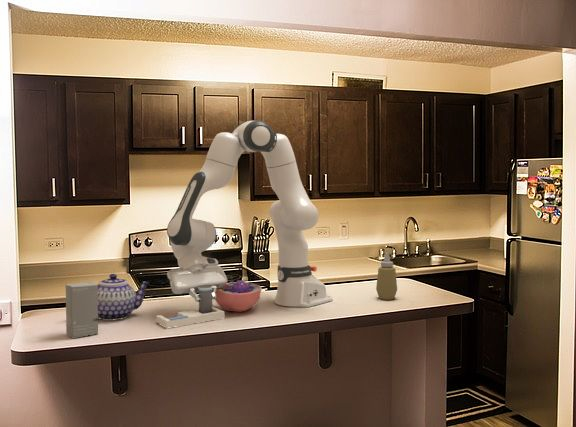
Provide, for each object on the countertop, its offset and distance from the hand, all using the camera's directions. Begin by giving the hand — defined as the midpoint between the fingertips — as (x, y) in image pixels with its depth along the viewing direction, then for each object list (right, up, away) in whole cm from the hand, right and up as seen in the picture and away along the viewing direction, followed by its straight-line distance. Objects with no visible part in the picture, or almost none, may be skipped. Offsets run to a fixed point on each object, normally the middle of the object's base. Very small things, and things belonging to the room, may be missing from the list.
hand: (206, 299), depth 202 cm
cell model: (+9, -6, +12) cm, 16 cm away
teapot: (-32, -7, +3) cm, 33 cm away
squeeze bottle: (+66, -4, +28) cm, 72 cm away
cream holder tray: (-5, -7, -2) cm, 9 cm away
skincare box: (-36, -8, -18) cm, 41 cm away
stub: (0, -6, +1) cm, 6 cm away
